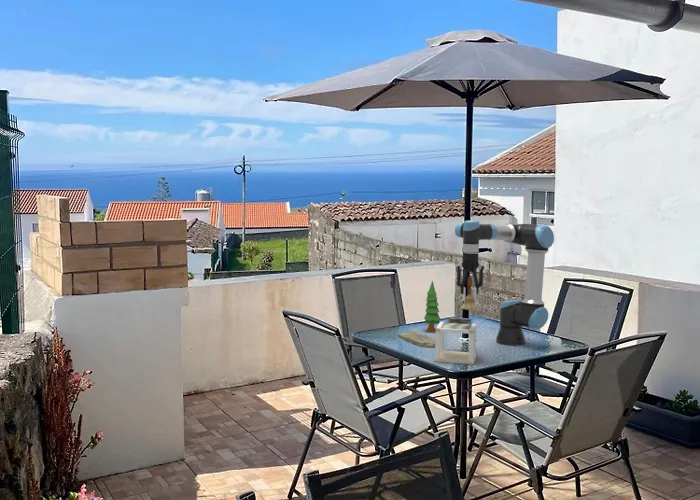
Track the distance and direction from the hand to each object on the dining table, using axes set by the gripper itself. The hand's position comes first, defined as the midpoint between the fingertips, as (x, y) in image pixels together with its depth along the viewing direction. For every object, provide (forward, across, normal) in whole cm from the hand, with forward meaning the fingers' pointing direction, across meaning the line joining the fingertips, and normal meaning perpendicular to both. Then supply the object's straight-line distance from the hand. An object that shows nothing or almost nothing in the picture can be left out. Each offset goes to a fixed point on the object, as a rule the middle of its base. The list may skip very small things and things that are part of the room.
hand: (469, 300), depth 332 cm
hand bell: (+4, 0, 0) cm, 4 cm away
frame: (+29, +5, -4) cm, 30 cm away
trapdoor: (+15, +3, -9) cm, 18 cm away
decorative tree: (+29, +4, -66) cm, 72 cm away
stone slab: (+30, +16, -40) cm, 52 cm away
